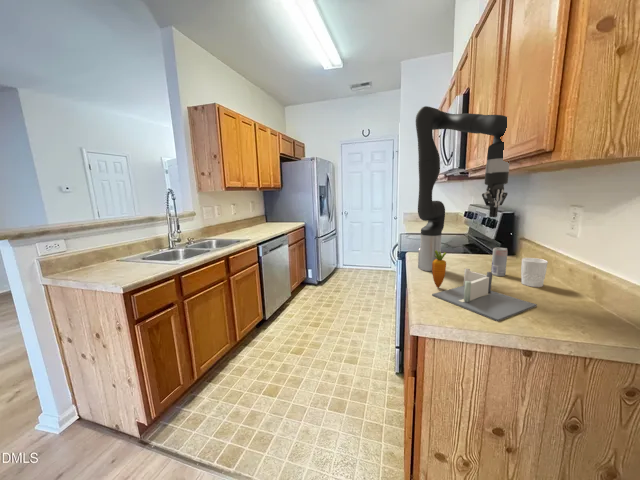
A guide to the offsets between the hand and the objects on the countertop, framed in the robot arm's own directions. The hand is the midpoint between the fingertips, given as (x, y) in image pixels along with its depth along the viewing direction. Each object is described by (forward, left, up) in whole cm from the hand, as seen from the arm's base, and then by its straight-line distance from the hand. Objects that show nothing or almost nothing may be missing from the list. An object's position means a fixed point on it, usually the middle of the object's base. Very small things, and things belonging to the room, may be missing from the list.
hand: (493, 216), depth 103 cm
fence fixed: (+4, -13, -26) cm, 30 cm away
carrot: (-6, -22, -27) cm, 35 cm away
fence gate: (+9, -21, -26) cm, 34 cm away
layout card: (+10, -20, -27) cm, 35 cm away
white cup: (+10, +12, -27) cm, 31 cm away
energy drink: (-4, +14, -27) cm, 31 cm away
